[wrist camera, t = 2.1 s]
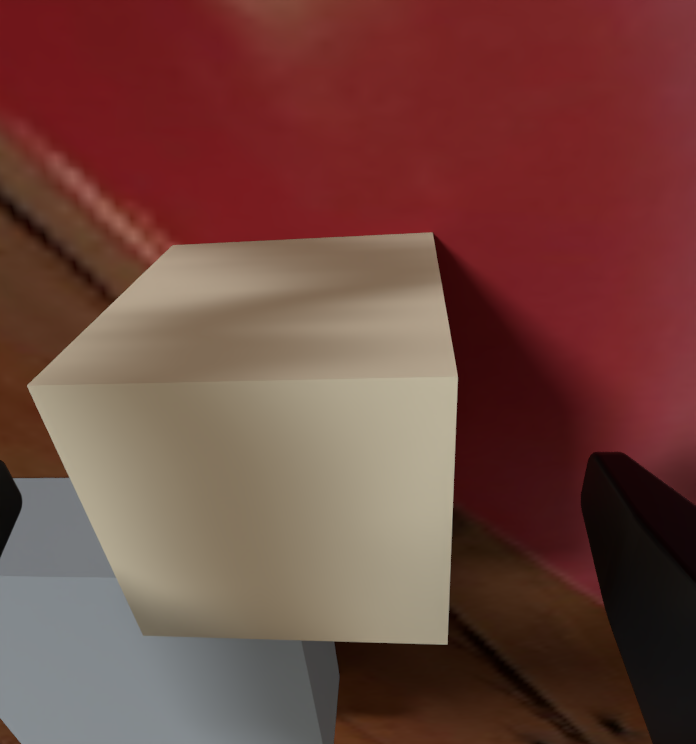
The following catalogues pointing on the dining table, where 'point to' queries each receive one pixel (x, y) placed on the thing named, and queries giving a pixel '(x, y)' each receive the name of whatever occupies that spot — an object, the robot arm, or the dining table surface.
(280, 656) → the base
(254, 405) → the cube
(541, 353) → the dining table surface
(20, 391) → the dining table surface
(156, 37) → the dining table surface
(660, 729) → the robot arm
